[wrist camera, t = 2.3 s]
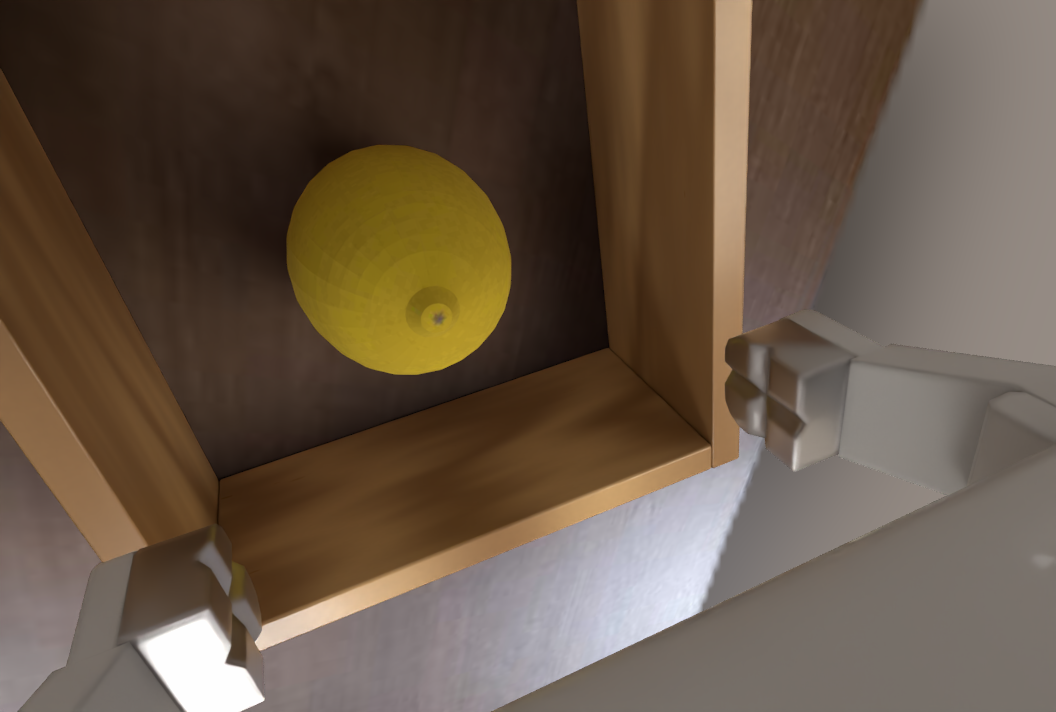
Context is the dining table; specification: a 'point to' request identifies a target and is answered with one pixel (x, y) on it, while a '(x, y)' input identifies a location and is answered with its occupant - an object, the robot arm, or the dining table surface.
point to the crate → (439, 432)
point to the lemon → (398, 259)
